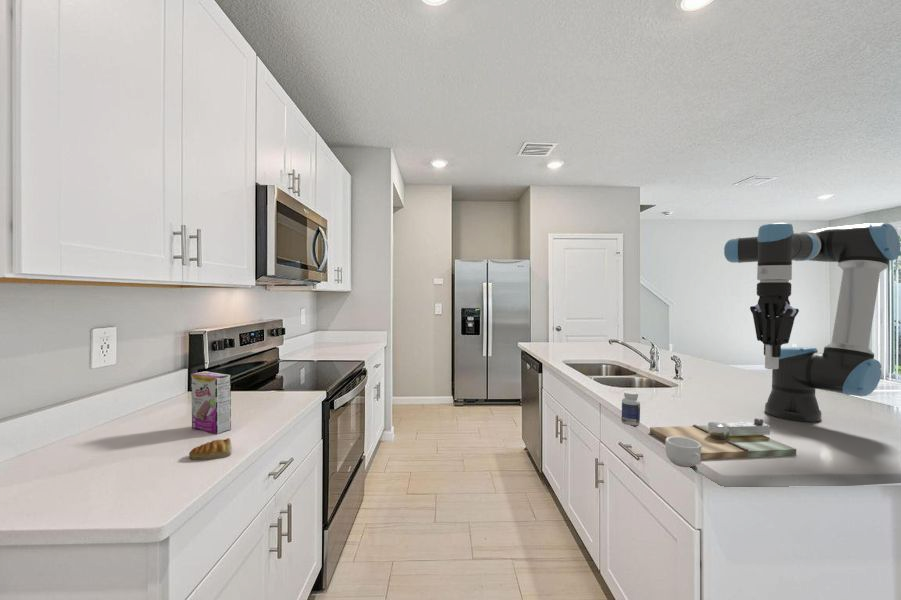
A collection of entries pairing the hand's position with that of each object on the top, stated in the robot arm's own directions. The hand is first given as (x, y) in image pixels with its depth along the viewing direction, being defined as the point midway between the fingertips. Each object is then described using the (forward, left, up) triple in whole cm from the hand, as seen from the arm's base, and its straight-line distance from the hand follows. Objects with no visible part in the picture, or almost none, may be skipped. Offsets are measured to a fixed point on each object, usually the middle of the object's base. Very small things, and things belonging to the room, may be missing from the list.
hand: (771, 368), depth 119 cm
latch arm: (+7, -3, -19) cm, 20 cm away
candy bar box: (+155, -28, -21) cm, 159 cm away
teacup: (+32, +10, -21) cm, 40 cm away
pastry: (+146, -8, -22) cm, 148 cm away
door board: (+13, -3, -21) cm, 25 cm away
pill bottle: (+28, -22, -21) cm, 41 cm away
